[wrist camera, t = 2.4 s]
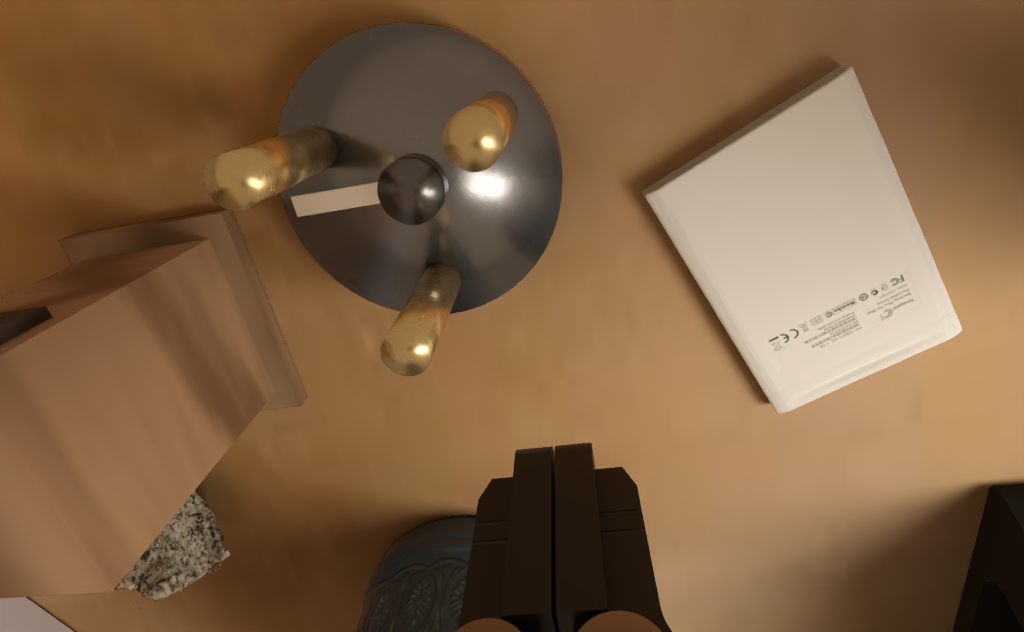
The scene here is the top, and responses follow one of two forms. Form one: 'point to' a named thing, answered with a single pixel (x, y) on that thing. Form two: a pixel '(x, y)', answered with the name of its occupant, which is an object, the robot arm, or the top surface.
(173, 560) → the rock sample
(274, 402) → the brown angular box
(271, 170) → the three-bulb candle holder
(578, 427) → the top surface
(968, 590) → the device stand
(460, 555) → the canister
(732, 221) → the external hard drive
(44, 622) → the game console
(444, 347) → the top surface
